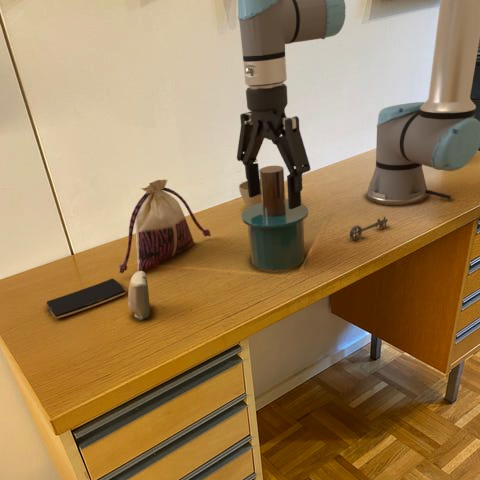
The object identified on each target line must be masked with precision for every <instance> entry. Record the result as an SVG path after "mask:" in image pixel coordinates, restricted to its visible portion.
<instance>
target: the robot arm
mask: <svg viewBox="0 0 480 480" xmlns="http://www.w3.org/2000/svg"><path fill="white" fill-rule="evenodd" d="M237 9H238V11H237V12H238V13H237V15H238V16H237V19H238V22H239V31H240V41H241V50H242V63H243V72H244V84H245V86H248V87H247V88H246V90H245V97H246V99H245V100H246V106H247V107H246V108H247V110H248V111H247V112H243V113H241V114H240V115H239V118H240V129H239V130H240V131H239V137H238V138H239V139H238V144H237V145H238V146H237V153H236V160H237V161H238V162H242V164H243V166H244V172H245V179H246V181H248V192H249V197H251V198H252V197H254V196H257V195H259V194H261V191H260V172H259V170H260V168H259V163H258V159H257V157H258V155H259V153H260V151H261V148H262V145H263V143H264V140H265V139H266V140H269V141H271V142H272V144H273V145H275V146H276V148H277V150H278V152H279V154H280V156H281V158H282V160H283V162H284V165H285V166H286V168H287V170H288V173H289V174H288V175H286V184H287V201H288V204H289V209H291V210H292V209H294V208H296V207H299V206H301V204H302V194H301V192H302V191H303V175H304V174H305V173H308V172H310V171H311V165H310V161H309V157H308V155H307V151H306V147H305V144H304V140H303V137H302V133H301V130H300V118H299V117H298V116H296V115H294V116H291V117H287V114H286V112H285V111H286V107H287V106H288V102H289V100H288V86H287V85H286V84H285V83H286V81H287V80H288V79H287V62H286V61H287V60H286V45H290V44H293V43H302V42H308V41H314V40H320V39H321V40H325V39H326V38H330V37H334V36H336V35H338V34H340V32H341V30H342V29H343V27H344V24H345V21H346V2H345V0H237ZM436 25H437V26H436V34H435V40H434V41H435V42H434V50H433V57H432V65H431V73H430V82H429V90H428V98H427V99H426V101H416V102H409V103H402V104H395V105H391V106H387V107H384V108H382V109H381V110H380V111H379V112H378V116H377V123H376V148H375V149H376V150H375V169H374V171H373V174H372V176H371V180H370V181H369V185H368V187H367V198H368V200H370V201H371V202H373V203H375V204H379V205H383V206H384V205H385V206H407V205H413V204H417V203H420V202H422V201H424V200H425V199H426V198H427V195H432V196H434V197H435V196H436V197H440V198H443V199H447V200H451V198H452V195H449V194H446V193H441V192H438V191H434V190H430V189H428V187H427V182H426V178H425V174H424V170H423V166H426V167H429V168H432V169H434V170H438V171H446V172H454V171H458V170H460V169H462V168H464V167H466V165H468V164H469V163H470V161H471V160H472V159H473V158H474V157H475V156H476V155H477V153H478V151H479V149H480V120H478V118H475V115H476V108H477V106H476V104H475V103H474V102H473V101H472V99H471V93H472V88H473V82H474V81H473V80H474V75H475V69H476V63H477V56H478V51H479V46H480V0H440V1H439V9H438V18H437V24H436Z"/></svg>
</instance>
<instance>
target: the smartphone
mask: <svg viewBox="0 0 480 480" xmlns="http://www.w3.org/2000/svg"><path fill="white" fill-rule="evenodd" d="M126 293H127V292H126V290H125V288H124V287H123V286H122V285H121V284H120V283H119V282H118V281H117V280H116V279H115V278H110V279H108V280H105V281H102V282H99V283H97V284H94V285H91V286H88V287H86V288H83V289H79V290H77V291H73V292H71V293H68V294H64V295H62V296H59V297H56V298H53V299H50V300H47V301H46V305H47V308H48V310H49V311H50V313H51V315H52V316H53V317H54V318H55V319H61V318H64V317H67V316H70V315H73V314H76V313H79V312H82V311H85V310H87V309H90V308H93V307H96V306H98V305H101V304H104V303H106V302H109V301H111V300H113V299H116V298H119V297H121V296H124V295H125V294H126Z"/></svg>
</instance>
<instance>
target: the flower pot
mask: <svg viewBox="0 0 480 480" xmlns="http://www.w3.org/2000/svg"><path fill="white" fill-rule="evenodd" d="M238 189H239V193H240V196H241V198H242V201H243V202H244V204H245V207H247V208H249V207H251V206H253V205H256V204H259V203H262V196H261V194H259V195H257V196H254V197H252V198H251V197H249V192H248V181H247V180H245V181H243V182H240V183H239V184H238ZM260 191H261V184H260Z"/></svg>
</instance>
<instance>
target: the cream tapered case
mask: <svg viewBox="0 0 480 480" xmlns="http://www.w3.org/2000/svg"><path fill="white" fill-rule="evenodd" d="M148 284H149V283H148V278H147V273H146V271H145V272H143V271H138V270H137V271H135V272H134V273H133V275H132V276H131V278H130V280H129V286H128V295H127V296H128V297H127V298H128V299H127V307H128V309H129V310H130V311H131V312H132V313H134V317H135V318H137V319H138V320H139V321H147V320H149V319H150V318H151V307H150V306H151V305H150V296H149V295H150V294H149V285H148Z"/></svg>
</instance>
